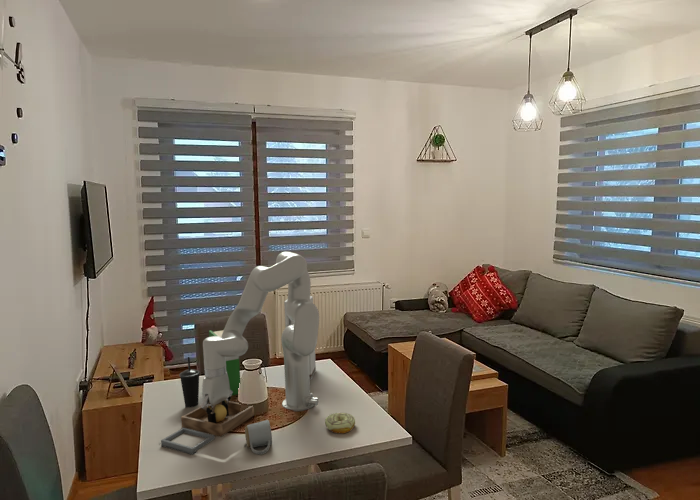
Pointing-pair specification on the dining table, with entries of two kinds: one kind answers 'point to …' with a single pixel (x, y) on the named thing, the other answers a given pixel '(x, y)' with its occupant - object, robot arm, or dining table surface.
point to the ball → (220, 412)
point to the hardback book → (230, 367)
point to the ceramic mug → (258, 436)
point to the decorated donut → (340, 422)
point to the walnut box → (200, 422)
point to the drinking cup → (190, 386)
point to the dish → (184, 448)
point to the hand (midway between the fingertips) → (218, 418)
